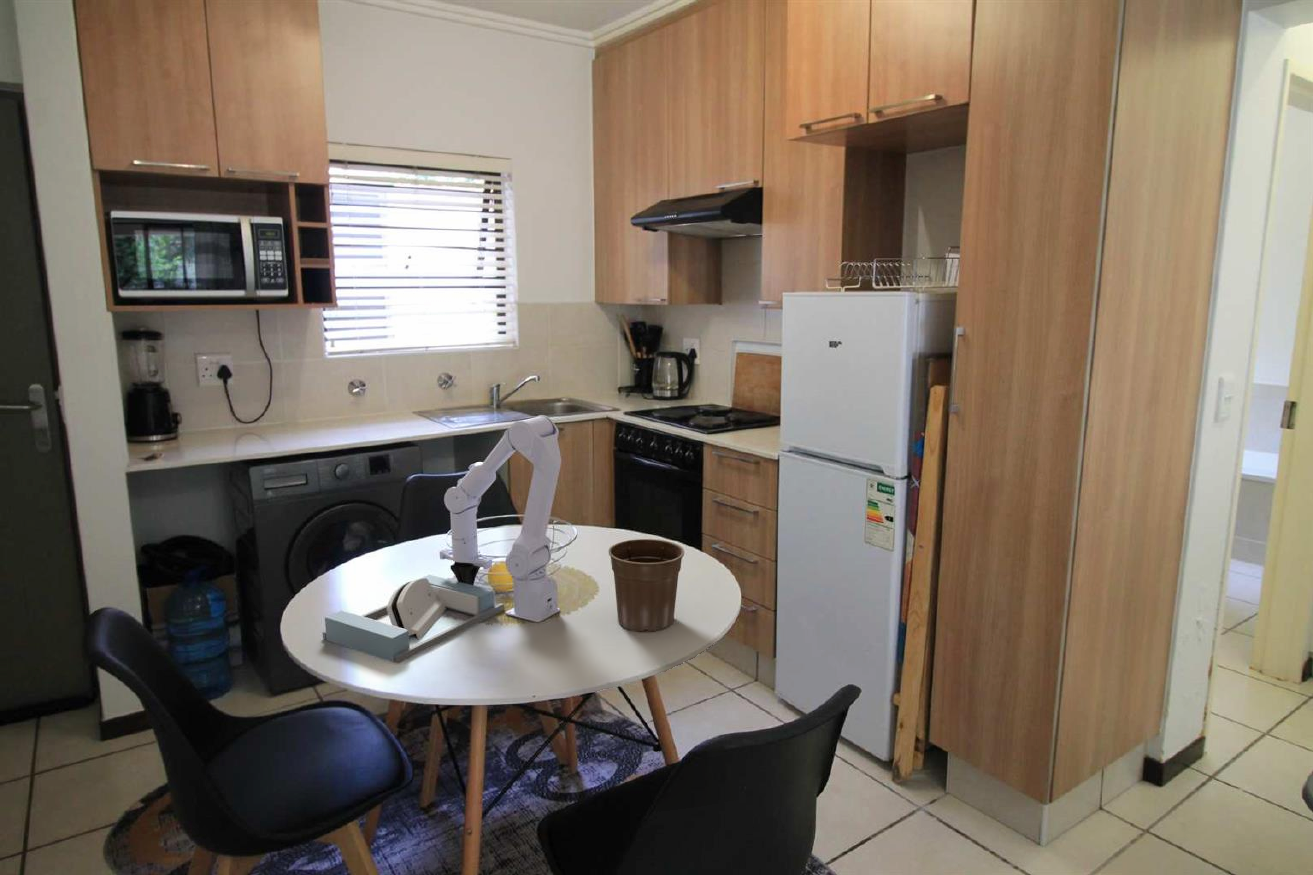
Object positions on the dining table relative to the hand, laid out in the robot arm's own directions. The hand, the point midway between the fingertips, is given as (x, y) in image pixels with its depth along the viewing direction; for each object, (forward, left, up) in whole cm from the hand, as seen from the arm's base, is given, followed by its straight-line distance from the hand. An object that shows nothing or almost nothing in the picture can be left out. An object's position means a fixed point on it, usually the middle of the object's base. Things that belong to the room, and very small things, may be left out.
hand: (467, 592), depth 183 cm
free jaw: (0, +4, -2) cm, 4 cm away
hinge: (+1, +15, -2) cm, 15 cm away
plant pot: (-42, -11, -2) cm, 44 cm away
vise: (0, +15, -2) cm, 15 cm away
